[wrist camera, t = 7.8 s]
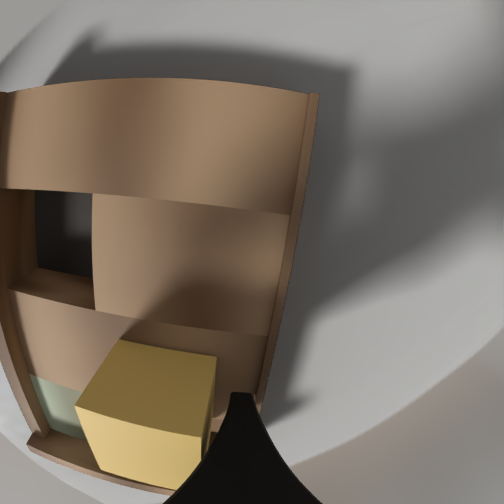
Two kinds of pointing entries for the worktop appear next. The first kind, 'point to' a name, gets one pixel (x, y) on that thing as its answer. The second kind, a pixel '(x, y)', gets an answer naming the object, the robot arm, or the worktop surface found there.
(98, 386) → the ochre block
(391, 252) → the worktop surface
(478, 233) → the worktop surface
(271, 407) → the worktop surface
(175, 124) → the box
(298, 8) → the worktop surface
